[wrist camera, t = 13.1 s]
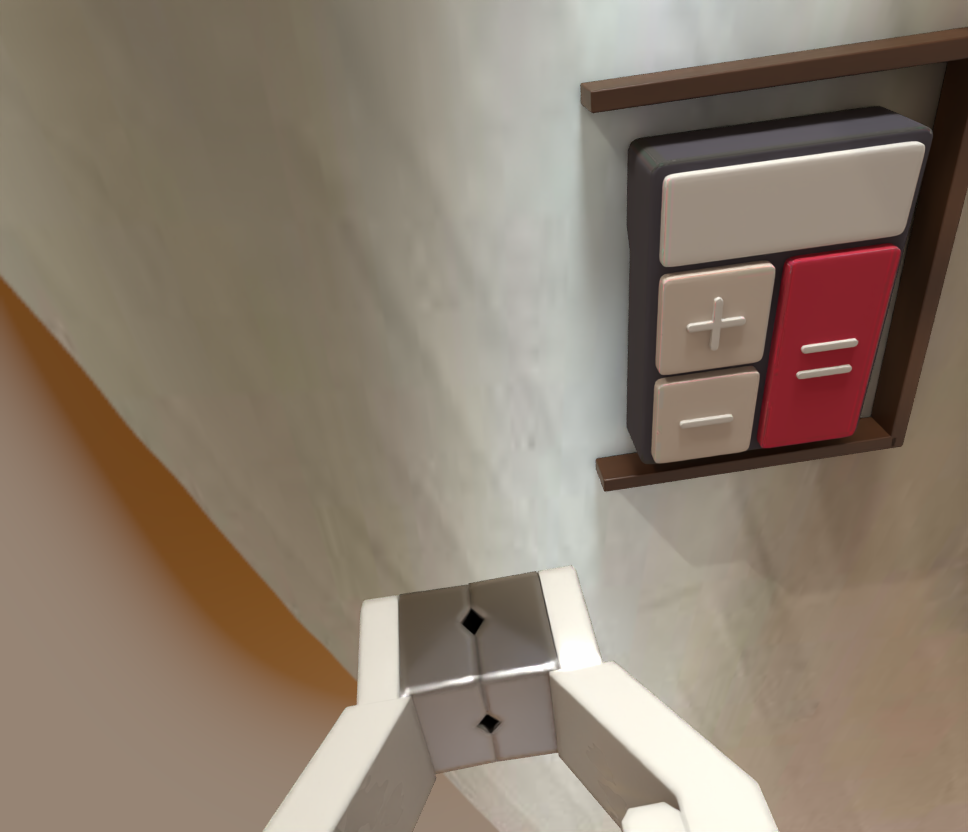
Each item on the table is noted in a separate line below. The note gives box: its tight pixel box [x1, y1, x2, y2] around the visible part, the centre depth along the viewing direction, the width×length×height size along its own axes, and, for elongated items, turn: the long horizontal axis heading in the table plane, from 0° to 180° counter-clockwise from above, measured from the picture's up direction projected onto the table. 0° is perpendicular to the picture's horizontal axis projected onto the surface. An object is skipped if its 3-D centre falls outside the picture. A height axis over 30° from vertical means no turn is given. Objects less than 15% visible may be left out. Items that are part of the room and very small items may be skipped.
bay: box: [580, 27, 968, 491], centre depth 33 cm, size 20×16×2 cm
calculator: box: [627, 106, 933, 464], centre depth 33 cm, size 11×4×15 cm
